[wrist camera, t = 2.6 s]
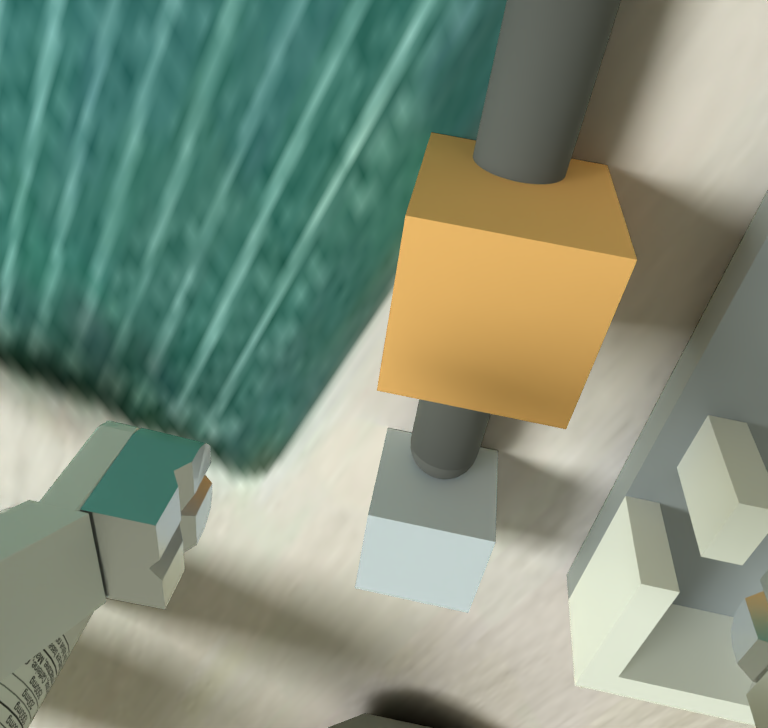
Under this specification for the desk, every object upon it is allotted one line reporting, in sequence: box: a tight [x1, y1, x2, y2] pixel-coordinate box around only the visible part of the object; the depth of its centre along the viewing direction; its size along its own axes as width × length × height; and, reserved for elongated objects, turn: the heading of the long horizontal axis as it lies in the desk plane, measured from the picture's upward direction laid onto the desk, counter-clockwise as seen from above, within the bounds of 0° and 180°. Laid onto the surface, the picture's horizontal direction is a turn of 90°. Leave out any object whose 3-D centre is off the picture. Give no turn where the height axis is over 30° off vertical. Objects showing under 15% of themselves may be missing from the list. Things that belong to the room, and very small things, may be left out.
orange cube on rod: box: [355, 0, 637, 613], centre depth 15 cm, size 18×4×4 cm, turn 173°
